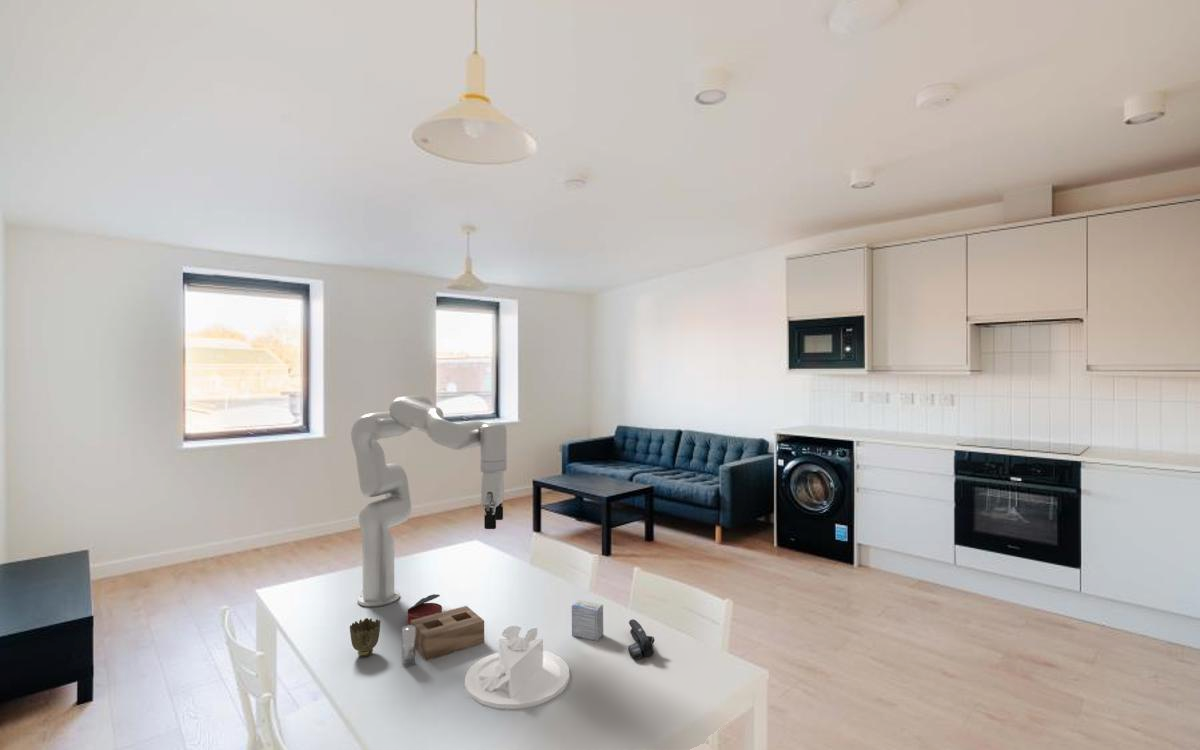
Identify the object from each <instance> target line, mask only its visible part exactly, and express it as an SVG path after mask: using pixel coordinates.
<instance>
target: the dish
mask: <svg viewBox="0 0 1200 750" xmlns="http://www.w3.org/2000/svg"><path fill="white" fill-rule="evenodd" d="M521 631H522V627H521V626H518V625H510V626H508V627H506V628H505V629H504V630H503V631H502V633H501V636H502V637H503V638H498V641H499V642H498V645H499V646H498V652H495V653H492V654H490V655H489V654H488V655H486V656H484V657H482V658H481V659H479V660H478V661H476V662H475V663H473V664H472V666H471V667H470V668H469V669H468V670H467V671H466V672H465V677H464V685H463V686H464V687H463V688H464V689H465V691H466V693H467V695H468V696H470V697H469V698H471V699H472V698H473V700H474V701H476V702H478V703H479V704H480V703H481V705H483V706H487V707H490V706H491V707H492V708H495V709H501V708H502V709H503V710H504V708H505V709H507V710H509V709H510V710H511V709H513V710H514V709H515V710H519V709H525V708H528V707H529V708H530V707H535V706H538V705H541V704H543V703H546V702H547V701H550V700H553V699H554V698H556V697H557V696H558V695H559V694H561V693H562V692H563V691H564V690H565V689H566V688H567V685H568V684H569V681H570V679H571V678H570V677H571V676H570V670H569V665H568V664H567V663H566V662H565V661H564V660H563V658H562V657H560V656H558V655H556V654H554V653H552V652H551V651H550V652H549V651H545V650H544V641H543V640H544V639H536V638H537V636H538V628H537V627H534V628H530V629H529V630H528V631H527V632H526V634H525V637H523V636H520V635H519V634H520V632H521Z"/></svg>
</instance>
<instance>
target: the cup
mask: <svg viewBox="0 0 1200 750" xmlns="http://www.w3.org/2000/svg"><path fill="white" fill-rule="evenodd" d="M380 630H381V620H380V619H378V618H376V620H375V621H374V620H373V619H372V618H368V617H366V618H364V620H362V619H359V621H354V622H352V623H351V624H350V626H349V633H350V640H351V641H350V642H351V646H352V647H353V648H354V650H356V651H357V655H358V656H359V657H361V658H366V657H369V656H371V655H372V654H373V653H374V652H373V651H374V648H375V647H376V646H377V645H378V641H379V637H380V632H381V631H380Z"/></svg>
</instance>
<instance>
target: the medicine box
mask: <svg viewBox="0 0 1200 750" xmlns="http://www.w3.org/2000/svg"><path fill="white" fill-rule="evenodd" d="M603 635H604V605H603V604H602V603H597V602H594V601H593V602H592V601H586V600H580V599H578V600H577V601H575V602H574V603H572V605H571V636H573V637H578V638H581V639H582V638H583V639H585V640H590V641H597V642H598V641H599V639H601V638H602V636H603Z"/></svg>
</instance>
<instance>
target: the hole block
mask: <svg viewBox="0 0 1200 750" xmlns="http://www.w3.org/2000/svg"><path fill="white" fill-rule="evenodd" d="M411 625H413V626H415V648H416V650H417V651H419V652H418V653H419V654H420V655H421V656H422V658H423V659H424V660H425V661H429V660H432V659H436V658H438V657H442V656H446V655H449V654H452V653H455V651H456V652H458V651H461V650H464V649H468V648H471V647H472V648H473V647H475V646H478V645H482V644H484V643H485V620H484V618H482V617H480V616H479V614H477V613H476V612H474V610H472V609H471V608H470V607H469V606H468V605H464V606H460V607H457V608H452V609H449V610H445V611H442V612H441V613H437V614H433V615H429V616H425V617H421V618H417V619H414V620H411Z"/></svg>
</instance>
